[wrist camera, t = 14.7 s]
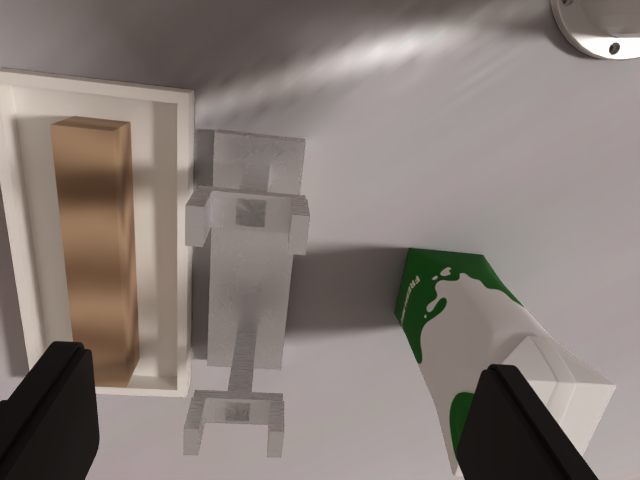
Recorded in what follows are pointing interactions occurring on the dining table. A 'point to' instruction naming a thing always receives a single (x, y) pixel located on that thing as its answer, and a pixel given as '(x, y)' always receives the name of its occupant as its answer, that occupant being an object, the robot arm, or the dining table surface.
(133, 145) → the off-white tray
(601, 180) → the dining table surface
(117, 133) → the walnut rail
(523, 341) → the milk carton
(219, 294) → the steel stand
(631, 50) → the robot arm
